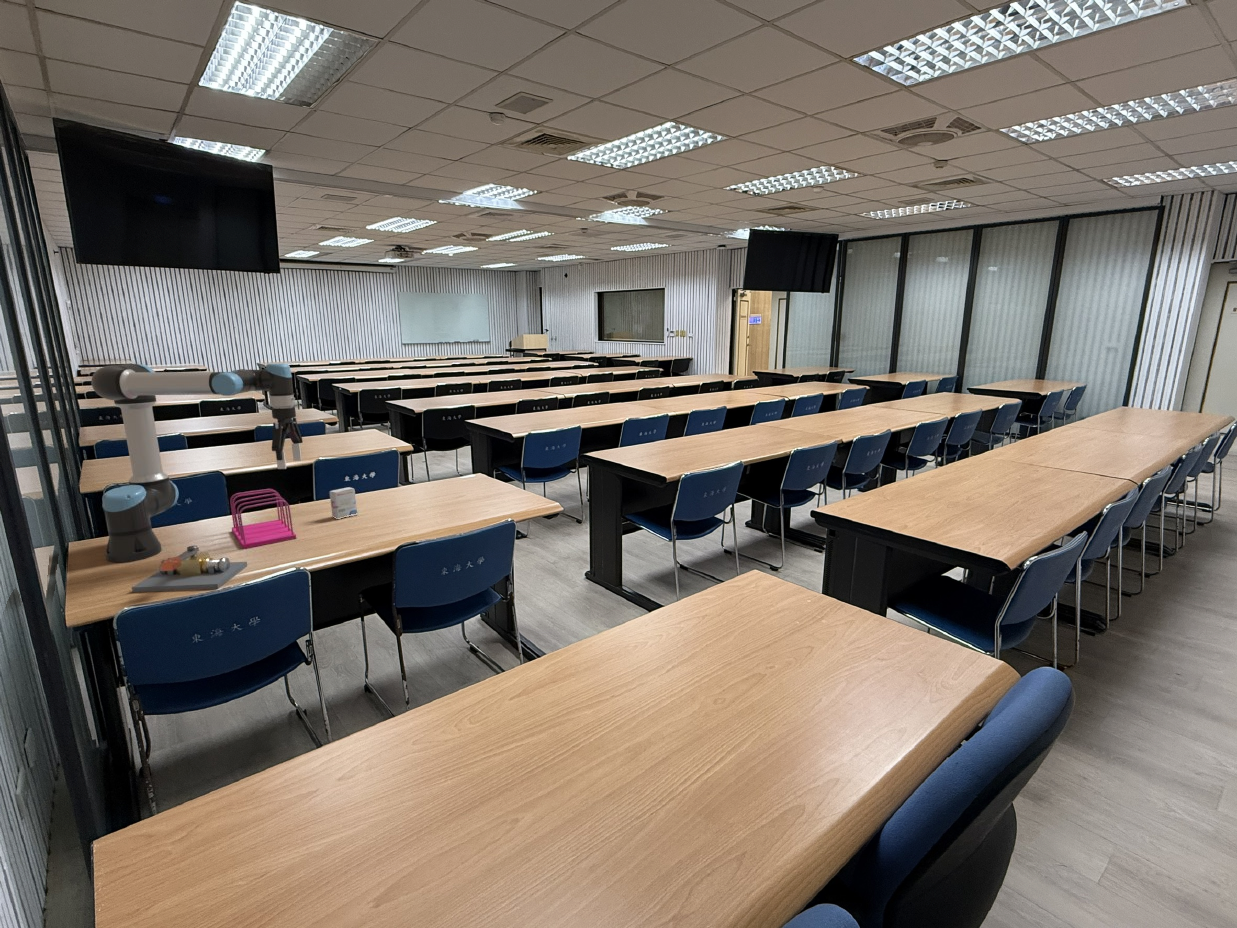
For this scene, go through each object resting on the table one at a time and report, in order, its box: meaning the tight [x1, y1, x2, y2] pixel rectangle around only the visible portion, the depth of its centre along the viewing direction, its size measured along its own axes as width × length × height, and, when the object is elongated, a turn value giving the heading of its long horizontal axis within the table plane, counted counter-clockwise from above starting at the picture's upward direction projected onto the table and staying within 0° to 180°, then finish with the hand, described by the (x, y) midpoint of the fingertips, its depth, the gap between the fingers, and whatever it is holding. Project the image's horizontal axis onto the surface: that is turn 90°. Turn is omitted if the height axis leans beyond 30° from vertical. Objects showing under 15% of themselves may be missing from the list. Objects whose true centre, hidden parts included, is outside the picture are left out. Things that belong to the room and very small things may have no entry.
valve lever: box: [160, 545, 200, 571], centre depth 184 cm, size 15×3×3 cm, turn 6°
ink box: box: [328, 486, 358, 518], centre depth 251 cm, size 9×5×12 cm, turn 141°
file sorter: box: [229, 488, 297, 550], centre depth 228 cm, size 17×25×16 cm
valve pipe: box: [158, 552, 231, 576], centre depth 191 cm, size 18×6×6 cm, turn 96°
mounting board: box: [131, 561, 248, 593], centre depth 189 cm, size 24×18×2 cm
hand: (290, 464), depth 222 cm, fingers open, 13 cm apart
